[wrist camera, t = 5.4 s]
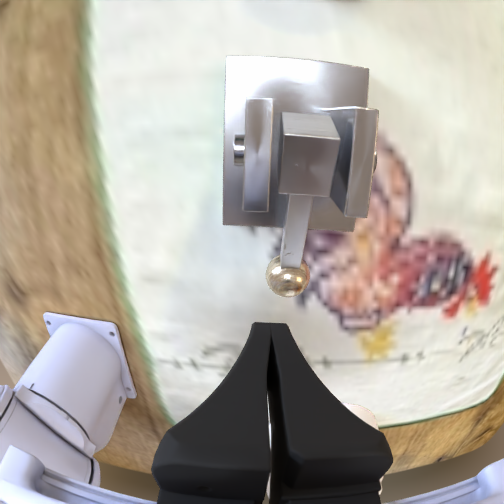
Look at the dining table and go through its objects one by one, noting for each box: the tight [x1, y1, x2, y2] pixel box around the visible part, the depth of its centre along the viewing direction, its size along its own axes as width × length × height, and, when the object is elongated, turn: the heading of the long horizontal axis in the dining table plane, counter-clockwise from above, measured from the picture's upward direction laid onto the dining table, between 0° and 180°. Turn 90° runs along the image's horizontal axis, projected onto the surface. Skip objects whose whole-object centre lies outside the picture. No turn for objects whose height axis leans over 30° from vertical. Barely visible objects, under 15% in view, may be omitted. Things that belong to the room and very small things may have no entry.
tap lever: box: [266, 112, 341, 297], centre depth 16 cm, size 11×3×3 cm, turn 178°
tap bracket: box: [223, 56, 379, 232], centre depth 15 cm, size 10×8×7 cm
